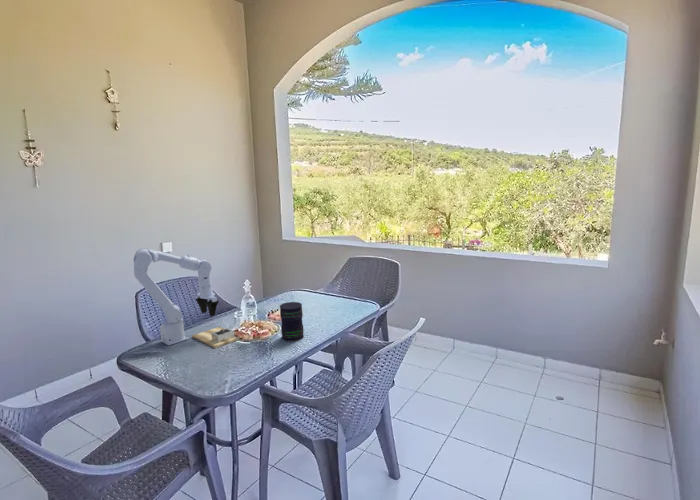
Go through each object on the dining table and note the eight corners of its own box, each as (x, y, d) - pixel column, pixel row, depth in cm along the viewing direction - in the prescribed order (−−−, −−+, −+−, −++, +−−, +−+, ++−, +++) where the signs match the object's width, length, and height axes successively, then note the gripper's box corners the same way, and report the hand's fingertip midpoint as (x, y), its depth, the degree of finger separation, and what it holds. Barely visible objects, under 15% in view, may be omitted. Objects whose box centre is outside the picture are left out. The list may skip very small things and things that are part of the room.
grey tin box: (218, 342, 189) (217, 336, 189) (211, 339, 193) (211, 333, 192) (234, 337, 195) (233, 330, 194) (227, 334, 199) (227, 328, 198)
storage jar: (277, 338, 194) (274, 306, 191) (291, 331, 202) (289, 300, 199) (294, 343, 188) (292, 310, 185) (308, 335, 196) (306, 303, 193)
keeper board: (214, 348, 186) (213, 337, 185) (192, 337, 199) (191, 327, 198) (242, 338, 196) (242, 327, 195) (219, 328, 209) (218, 318, 208)
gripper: (221, 286, 197) (224, 314, 200) (205, 281, 207) (208, 309, 210) (207, 289, 192) (210, 319, 195) (191, 284, 202) (194, 312, 205)
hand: (208, 314), depth 202 cm, fingers open, 7 cm apart
